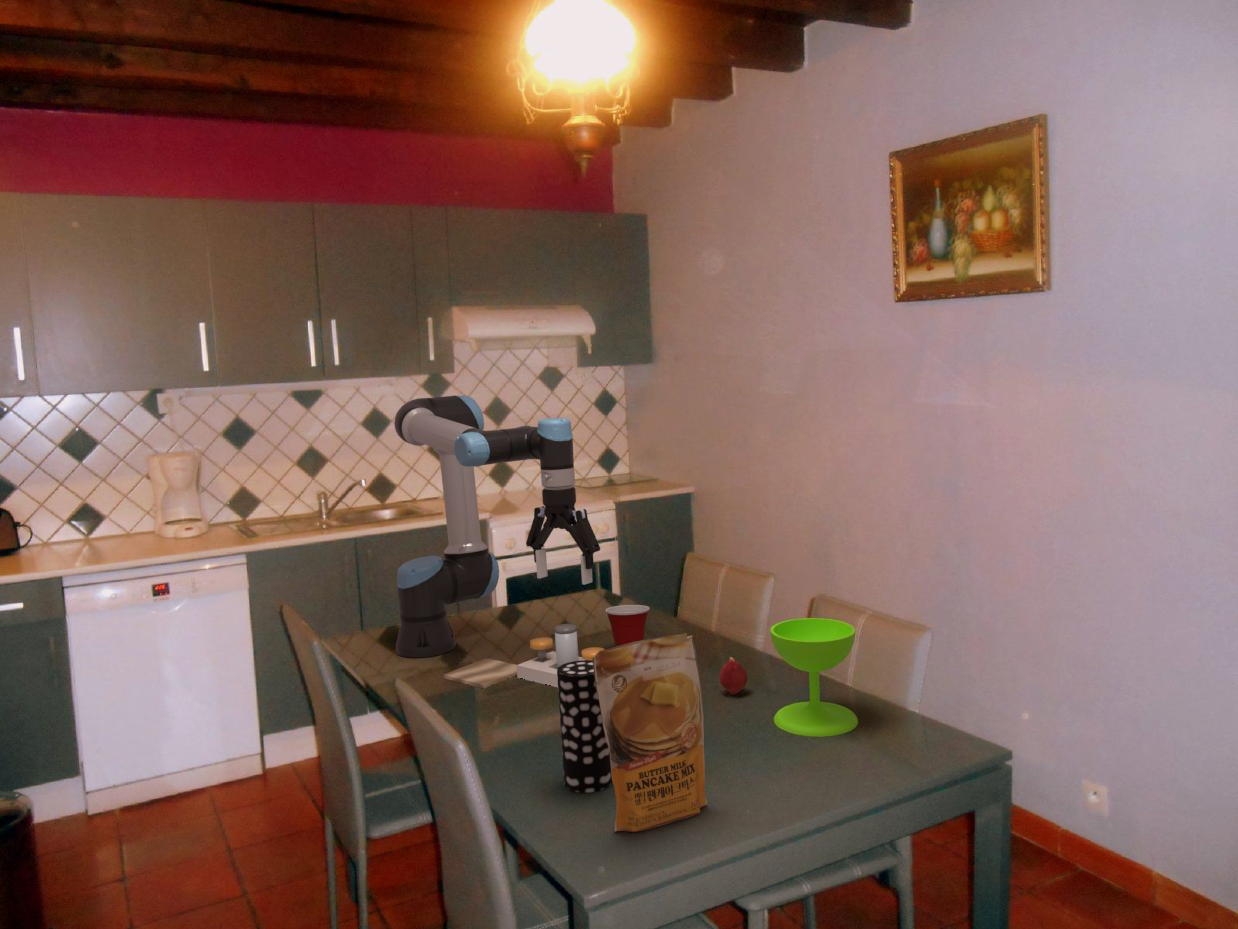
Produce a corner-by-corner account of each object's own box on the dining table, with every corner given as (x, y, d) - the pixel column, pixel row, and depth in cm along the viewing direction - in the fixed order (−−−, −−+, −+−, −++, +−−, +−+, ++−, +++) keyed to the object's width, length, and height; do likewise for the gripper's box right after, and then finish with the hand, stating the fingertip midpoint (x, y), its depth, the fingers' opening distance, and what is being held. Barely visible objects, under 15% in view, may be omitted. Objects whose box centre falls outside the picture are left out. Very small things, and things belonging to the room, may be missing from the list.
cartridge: (553, 679, 213) (549, 628, 212) (567, 673, 217) (564, 622, 215) (569, 683, 210) (566, 631, 208) (584, 676, 214) (580, 625, 212)
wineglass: (809, 743, 170) (805, 647, 168) (757, 716, 184) (753, 627, 182) (876, 724, 177) (873, 631, 175) (821, 699, 191) (818, 613, 189)
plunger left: (526, 660, 218) (525, 641, 217) (542, 654, 222) (540, 636, 221) (542, 663, 214) (541, 645, 214) (558, 657, 218) (557, 639, 218)
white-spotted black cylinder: (563, 773, 163) (556, 662, 161) (611, 769, 164) (604, 658, 162) (565, 795, 155) (557, 678, 153) (614, 790, 156) (607, 674, 153)
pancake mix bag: (593, 823, 145) (583, 647, 142) (700, 792, 153) (691, 626, 150) (612, 842, 139) (601, 659, 136) (721, 809, 147) (713, 636, 144)
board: (443, 678, 218) (442, 674, 218) (487, 661, 229) (487, 658, 229) (484, 688, 209) (483, 685, 209) (528, 670, 220) (527, 667, 220)
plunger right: (577, 671, 207) (576, 652, 207) (593, 664, 211) (592, 646, 211) (595, 675, 204) (594, 655, 204) (610, 668, 208) (609, 649, 208)
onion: (751, 691, 198) (749, 654, 197) (743, 700, 193) (741, 663, 192) (725, 688, 201) (723, 652, 200) (716, 697, 196) (714, 660, 195)
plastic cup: (653, 648, 232) (650, 600, 231) (650, 661, 221) (648, 612, 220) (610, 649, 233) (607, 602, 232) (605, 663, 222) (602, 613, 221)
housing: (517, 678, 215) (516, 665, 215) (553, 663, 224) (552, 651, 224) (586, 694, 202) (585, 680, 202) (620, 678, 211) (620, 665, 211)
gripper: (507, 487, 214) (513, 578, 216) (590, 491, 198) (596, 589, 201) (529, 483, 220) (535, 571, 222) (612, 486, 204) (617, 582, 206)
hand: (564, 580), depth 211 cm, fingers open, 13 cm apart
